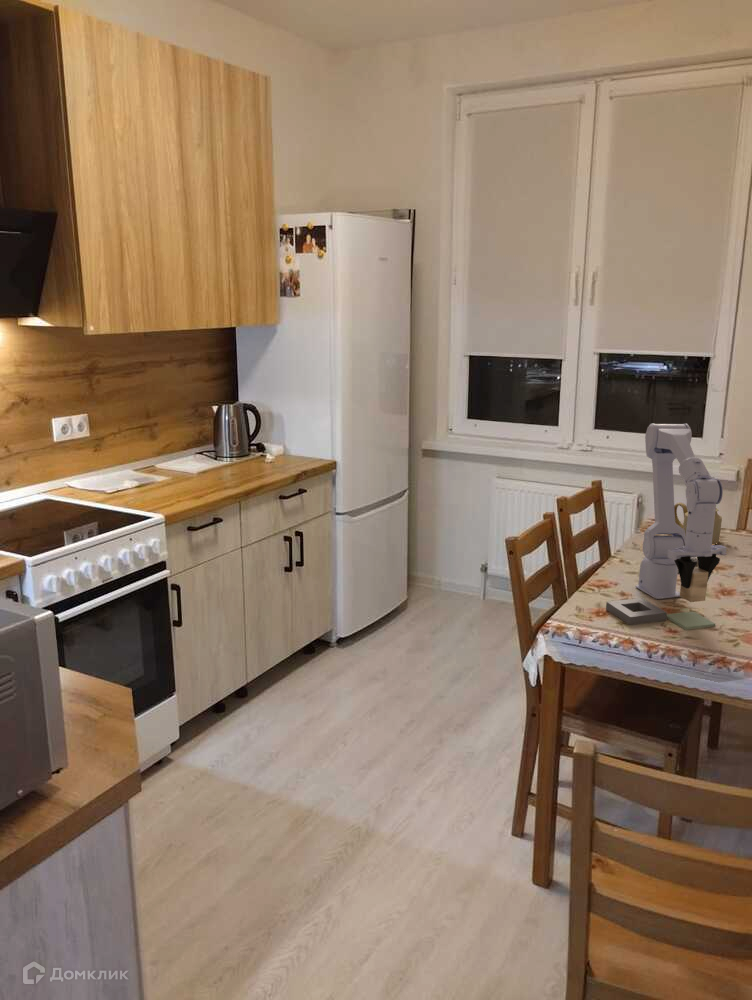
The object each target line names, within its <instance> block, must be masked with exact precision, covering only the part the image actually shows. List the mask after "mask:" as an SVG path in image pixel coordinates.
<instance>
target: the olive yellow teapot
mask: <svg viewBox="0 0 752 1000" xmlns="http://www.w3.org/2000/svg"><path fill="white" fill-rule="evenodd" d="M686 505H687V504H686V503H683V502H678V503H674V509H675V523H676V524H677V525H679V526H680V527H681V528H682V529H684V530H685V536H686V528H687V519H688V510H687V507H686ZM679 506H680V507H681V508H682V513H683V522H681V521H680V519H679V516H678V507H679ZM718 511H719V508H717V507H716V511H715V520H714V529H713V537H712V544H716V543H718V542H720V536H721V531H722V530H721V529H722V521H723V517H722V516H721V515H720V514H718ZM682 523H683V524H682ZM718 544H719V543H718Z"/></svg>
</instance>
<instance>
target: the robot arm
mask: <svg viewBox="0 0 752 1000" xmlns="http://www.w3.org/2000/svg"><path fill="white" fill-rule="evenodd" d="M692 435H693V433H692V429H691V426H690V425H689V424H688V423H650V424H649V425H648V426H647V429H646V432H645V436H644V438H645V439H644V440H645V452H646V453H645V454H646V457H647V458H649V459H650V460H651V464H652V483H653V484H652V485H653V506H654V508H653V509H654V512H653V513H654V522H653V523H652V524H651V525H650V526H648V527H647V528H646V530H644V533H643V541H642V553H643V555H644V558H643V559H641V562H640V566H639V575H638V584H636V585H635V588H636V589H638V590H639V591H640V590H641V592H643V593H644V594H647V595H649V596H650V597H652V598H654V599H656V600H663V599H671V598H679V597H680V591H677V589H676V588H677V581H678V574H677V573H678V571H679V578H680V579H679V580H680V587H681V586H683V587H685V588H689V587H690V584H691V577H692V573H693V570H694V567H695V565H696V563H695V562H693V561H692V559H691V557H695V558H696V559H698V561H697V562H698V563H697V565H698V566H697V565H696V566H697V567H698V568H701V569H703V570H705V571H707V572H709V573H708V581H709V579H710V578H711V575H712V574H713V572H714V570H715V568H716V567H717V566H718V565H719V564H720V561H721V559H720V557H717V556H719V555H720V556H726V555H727V547H726V546H724V545H721V544H719V545H718V544H717V545H712V537H713V529H714V520H715V511H716V508H717V505H718V504H720V503H721V502H722V499H723V495H724V493H723V492H724V491H723V484H722V482H721V480H720V479H719V478H715V477H714V476H711V474H710V472H709V470H708V469H707V467H706V465H705V463H704V462H703V460H702V459H701V458H699V457H696V456H695V454H694V451H693V448H692V446H691V442H692ZM675 460H677V461H678V462H679V466H678V473H679V475H680V477H681V479H682V480H683V483H684V485H685V498H686V504H685V505H686V507H687V510H688V519H687V528H686V536H685V530H684V529H682V528H681V527H680V526H679V525H677V524H676V523H675V509H674V505H675V491H674V489H675V488H674V470H673V468H674V467H673V466H674V465H673V463H674V461H675ZM708 581H707V583H708ZM680 598H681V597H680Z"/></svg>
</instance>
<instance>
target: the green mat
mask: <svg viewBox="0 0 752 1000" xmlns="http://www.w3.org/2000/svg"><path fill="white" fill-rule="evenodd" d="M666 620H669V621H670V622H672V623H674V624H676V625H677V626H680V627H681V628H682V629H684V630H685V631H687V630H694V629H697V630H698V629H705V628H710V627H716V623H715V622H713V621H711V620H709V619H708V618H706V617H704V616H703V615H701V614H699V613H697V612H696V611H692V610H691V611H684V612H676V613H675V612H674V613H667V618H666Z"/></svg>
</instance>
